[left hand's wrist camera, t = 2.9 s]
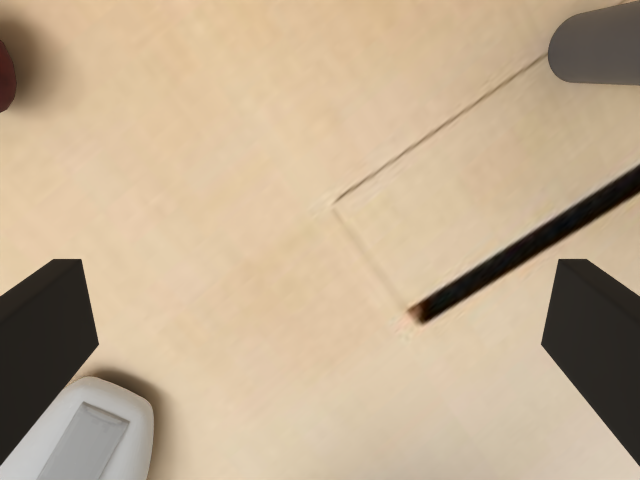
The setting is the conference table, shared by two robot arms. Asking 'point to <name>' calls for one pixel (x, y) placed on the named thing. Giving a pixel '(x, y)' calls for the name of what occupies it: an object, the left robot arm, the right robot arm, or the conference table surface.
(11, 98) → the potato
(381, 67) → the conference table surface
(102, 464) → the projector
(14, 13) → the conference table surface
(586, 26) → the bottle
